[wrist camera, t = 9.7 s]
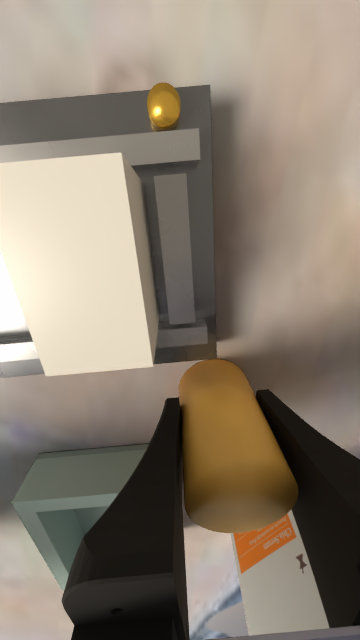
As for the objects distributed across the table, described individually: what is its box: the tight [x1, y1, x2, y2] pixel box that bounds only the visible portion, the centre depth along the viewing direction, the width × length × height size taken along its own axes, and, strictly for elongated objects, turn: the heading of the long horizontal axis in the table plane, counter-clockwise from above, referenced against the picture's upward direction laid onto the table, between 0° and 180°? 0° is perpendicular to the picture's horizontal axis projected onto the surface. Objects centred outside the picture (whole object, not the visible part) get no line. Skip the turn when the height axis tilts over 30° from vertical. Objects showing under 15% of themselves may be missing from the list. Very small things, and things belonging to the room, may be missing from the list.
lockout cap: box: [179, 359, 298, 533], centre depth 11 cm, size 4×4×6 cm
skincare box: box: [231, 510, 329, 636], centre depth 13 cm, size 6×4×12 cm
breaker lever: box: [0, 152, 160, 376], centre depth 7 cm, size 3×5×4 cm, turn 5°
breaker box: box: [0, 83, 217, 378], centre depth 9 cm, size 14×10×3 cm
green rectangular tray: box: [11, 444, 149, 590], centre depth 16 cm, size 8×10×3 cm
